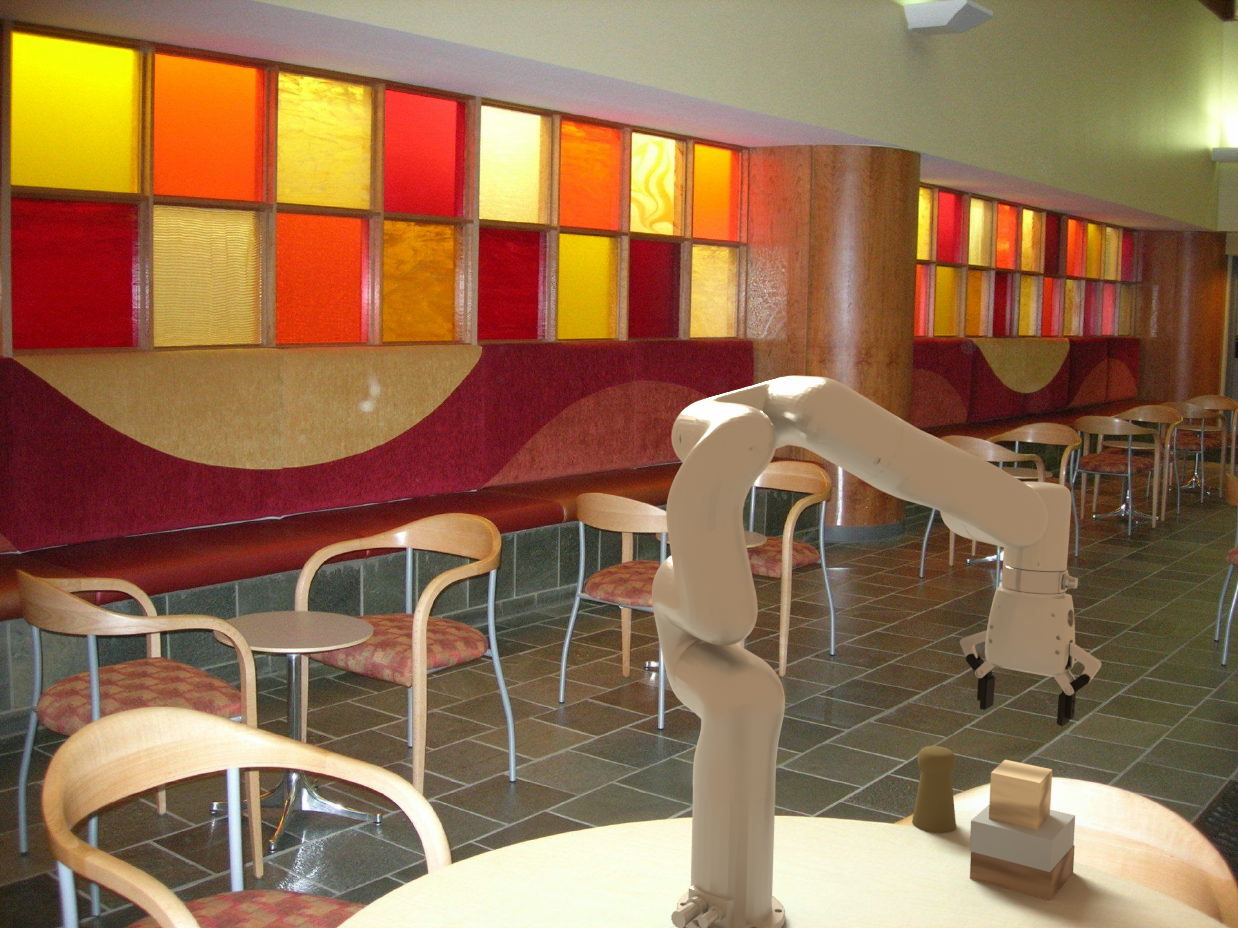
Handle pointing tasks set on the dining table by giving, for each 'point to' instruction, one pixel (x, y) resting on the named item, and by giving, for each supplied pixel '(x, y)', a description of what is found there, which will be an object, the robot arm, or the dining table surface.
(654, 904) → the dining table surface
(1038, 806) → the block
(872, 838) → the dining table surface
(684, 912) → the robot arm
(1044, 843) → the tower top
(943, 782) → the brown tapered cylinder
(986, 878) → the tower base
